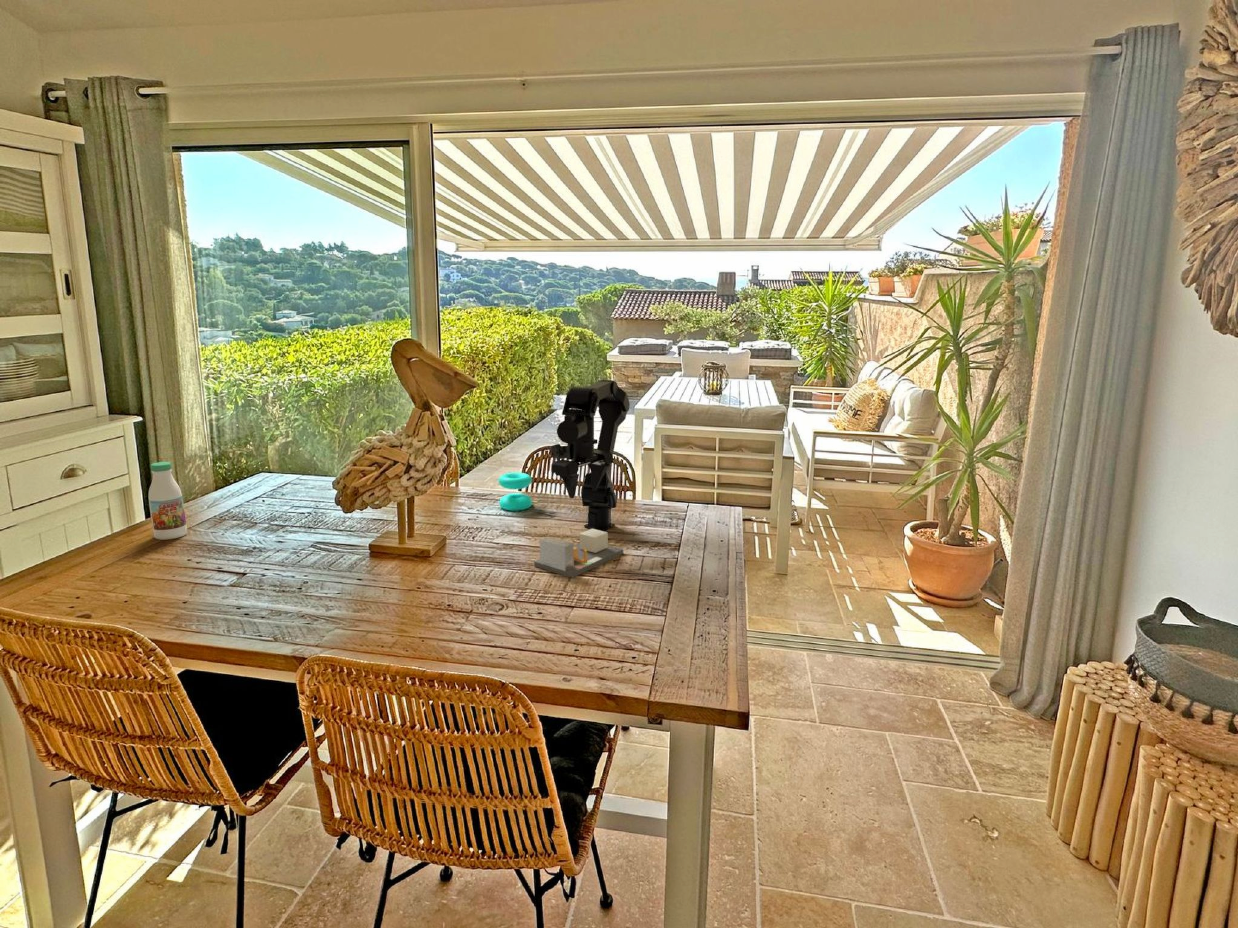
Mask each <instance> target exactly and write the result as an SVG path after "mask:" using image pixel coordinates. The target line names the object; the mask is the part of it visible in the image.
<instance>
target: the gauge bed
mask: <svg viewBox="0 0 1238 928" xmlns="http://www.w3.org/2000/svg"><path fill="white" fill-rule="evenodd" d="M574 547H576V548H578V558H580V559H583V560H584V551H583V549H580V541H579V542H578V543H575V544H574V543H573V542H569V541H567V540H563V539H559V538H555V537H552V536H546V537H544V538H541V539H539V559H537V560H534V561H533V565H534V567H536V568H539V569H542V570H545V571H548V572H551V573H556V574H558V575H561V576H565V577H567V578H571V579H572V578H575V577H577V576H579V575H581V574H584V573H585V572H588V571H591V570H593V569H594V568H596V567H598V566H601V565H602V564H605V563H607V562H608V561H611V560H613V559H615V558H617V557H619V556H622V555H623V554H624V549H623V548H620V547H617V546H612V545H609V544H608V547H607V548H605V549H603V550H601V551H598V552H596V553H594V552H590V551H587V563H586V564H585V563H582V562H578V561H574Z"/></svg>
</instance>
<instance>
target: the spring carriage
mask: <svg viewBox="0 0 1238 928" xmlns="http://www.w3.org/2000/svg"><path fill="white" fill-rule="evenodd" d="M579 542H580V549H583V550H585V549H586V550H587V551H590V552H594V553H596V552H598V551H601V550H603V549H605V548H607V547H608V545H609V543H608V542H609V541H608V532H607V531H605V530H604V531H600V530H596V529H590V528H589V529H588V530H586V531H583V532H581V533H579Z"/></svg>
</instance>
